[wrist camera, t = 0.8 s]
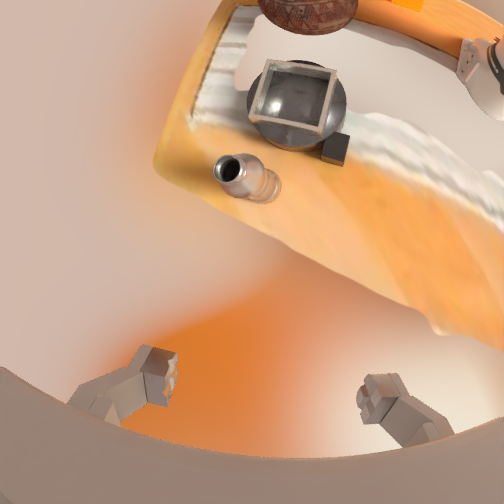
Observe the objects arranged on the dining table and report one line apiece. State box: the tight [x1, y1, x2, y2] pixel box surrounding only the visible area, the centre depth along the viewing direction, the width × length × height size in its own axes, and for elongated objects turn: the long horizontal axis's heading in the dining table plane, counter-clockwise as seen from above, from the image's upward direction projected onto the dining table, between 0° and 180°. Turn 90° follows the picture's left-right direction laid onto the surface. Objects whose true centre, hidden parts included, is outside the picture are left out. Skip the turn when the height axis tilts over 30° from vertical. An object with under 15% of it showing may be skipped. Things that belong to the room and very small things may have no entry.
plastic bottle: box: [213, 153, 281, 204], centre depth 41 cm, size 6×7×20 cm
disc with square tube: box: [247, 59, 350, 167], centre depth 43 cm, size 18×20×8 cm
